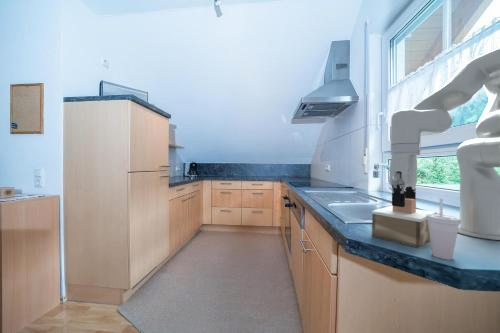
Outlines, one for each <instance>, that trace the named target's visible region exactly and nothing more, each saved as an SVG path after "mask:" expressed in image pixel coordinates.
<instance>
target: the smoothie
mask: <svg viewBox="0 0 500 333" xmlns="http://www.w3.org/2000/svg"><path fill="white" fill-rule="evenodd" d="M443 200H444V199H443V198H439V213H437V214H427V215H426V219H427V220H428V227H429V234H430V241H429V242H430V246H431V247H430V248H431V254H432V256H434V257H436V258H438V259H443V260H448V261H449V260H453V258H454V252H455V248H456V242H457V236H458V227H459V226H460V224H461V219H460V217H457V216H452V215H447V214H443V213H444V212H443V210H444V209H443V207H444V206H443V204H444V203H443V202H444V201H443Z"/></svg>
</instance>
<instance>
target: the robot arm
mask: <svg viewBox="0 0 500 333" xmlns="http://www.w3.org/2000/svg"><path fill="white" fill-rule="evenodd" d="M482 88H484V90H485V92H486V94H487V97H488V103H487V105H486V107H485V109H484V110H483V112H482V114H481V116H480V118H479V119H478V122H477V124H476V126H475V133H476V135H477V136H478V137H479V138H474V139H469V140H466V141H464V142H462V143H461V144H460V145H458V147H457V149H456V154H455V155H456V160H457V164H458V167H459V218H460V219H461V224H459V227H458V232H457V234H458V233H459V234H462V235H463V236H464V235H465V236H468V237H472V238H478V239H484V240H485V239H486V240H492V241H500V175H499V173H498V172H497V171H496V170H495V168H500V47H498V48H496V49H493V50H491V51H489V52H486V53H484V54H481V55H479V56H477V57H475V58H473V59H470V60H469V61H468V62H466V63H465V64H464V65H463V66H461V68H460V69H459V70H458V71H457V72H456V73H455V74H454V75H453V76H452V77H451V78H450V79H449V80H448V81H447V82H446V83H445V84H444V85H443V86H442V87H440V88H439V89H437V90H436V91H434V92H433V93H431V95H429V96H427V97H426V98H424V99H423V100H421V101H420V102H418V103H417V104H416V105H415V106H413V107H412V108H411V109H410V108H409V109H402V110H397V111H395V112H393V113H392V115H391V121H390V156H391V158H390V166H389V176H388V179H389V180H388V184H389V186H391V206H397V207H405V198H409V199H416V196H417V193H416V191H417V189H416V188H417V187H416V186H417V183H418V160H417V159H418V158H417V157H418V156H420V155H421V137H425V136H432V135H433V136H434V135H438V134H439V135H440V134H442V133H444V132H446V131H448V130H449V129H450V128H451V127H452V125H453V120H454V119H453V116H452V114H451V113H450V111H453V110H455V109H457V108H459V107H461V106H463V105H465V104H466V103H468V102H469V101H471V100H472V99H473V98H474V97H475V95H476V94H478V93H479V91H480V90H481V89H482ZM416 200H417V199H416Z"/></svg>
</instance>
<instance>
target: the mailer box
mask: <svg viewBox="0 0 500 333" xmlns="http://www.w3.org/2000/svg"><path fill="white" fill-rule="evenodd" d="M371 215H372V216H371V221H372V223H371V237H374V238H379V239H382V240H387V241H390V242H395V243H396V244H397V243H398V244H401V245H406V246H409V247H413V248H418V249H420V248H422V247H423V246H424V245H426V244H427V243H429V242H431V241H430V234H429V227H428V220H427V219H426V220H424V221H422V222H417V221H411V220H405V219H400V218H394V217H388V216H382V215H377V214H371Z"/></svg>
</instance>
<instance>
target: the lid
mask: <svg viewBox="0 0 500 333" xmlns="http://www.w3.org/2000/svg"><path fill="white" fill-rule="evenodd" d="M372 214H377V215H382V216H388V217H394V218H400V219H405V220H411V221H417V222H422V221H424V220H426V215H427V214H438V212H437V211H431V210H427V209H426V210H425V209H417V199H409V198H405V207H397V206H392V205H390V206H385V207H382V208H378V209H374V210H371V215H372Z"/></svg>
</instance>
